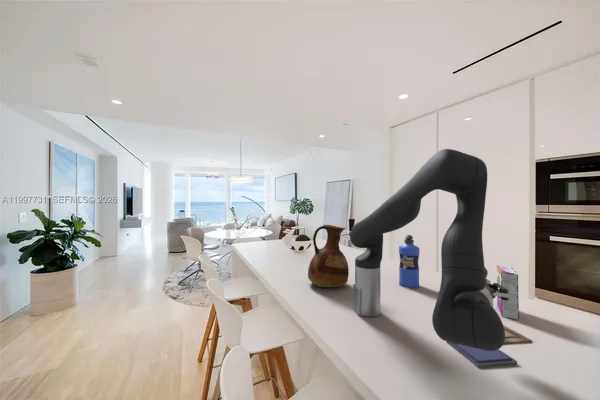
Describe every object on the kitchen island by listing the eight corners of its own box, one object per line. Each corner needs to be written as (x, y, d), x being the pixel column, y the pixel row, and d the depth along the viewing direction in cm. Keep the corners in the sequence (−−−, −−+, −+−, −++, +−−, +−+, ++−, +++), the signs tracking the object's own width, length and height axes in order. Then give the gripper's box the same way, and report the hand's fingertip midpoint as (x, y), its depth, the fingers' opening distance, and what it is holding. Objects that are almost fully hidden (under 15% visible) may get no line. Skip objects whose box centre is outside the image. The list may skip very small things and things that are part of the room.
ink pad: (477, 367, 60) (477, 362, 60) (446, 342, 71) (446, 338, 71) (517, 364, 61) (517, 359, 61) (480, 340, 72) (480, 336, 72)
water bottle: (401, 281, 127) (401, 233, 127) (421, 284, 121) (421, 234, 121) (396, 286, 119) (396, 235, 119) (417, 290, 114) (417, 237, 114)
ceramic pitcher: (352, 292, 111) (352, 226, 111) (308, 291, 111) (308, 226, 111) (344, 278, 130) (345, 223, 131) (307, 278, 131) (307, 222, 131)
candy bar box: (496, 305, 97) (495, 264, 97) (512, 308, 94) (512, 266, 94) (501, 317, 87) (500, 271, 87) (519, 320, 85) (519, 273, 85)
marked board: (489, 344, 70) (489, 342, 70) (453, 321, 84) (453, 319, 84) (532, 342, 71) (532, 340, 71) (489, 319, 85) (489, 317, 85)
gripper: (512, 288, 52) (508, 271, 65) (437, 275, 61) (447, 263, 74) (513, 323, 52) (509, 299, 65) (437, 305, 60) (447, 288, 74)
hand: (476, 280), depth 69 cm, fingers closed on cork, 3 cm apart
